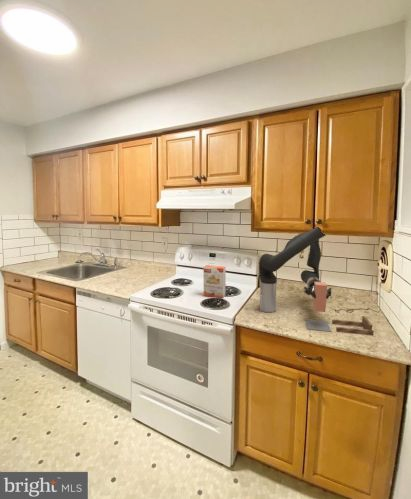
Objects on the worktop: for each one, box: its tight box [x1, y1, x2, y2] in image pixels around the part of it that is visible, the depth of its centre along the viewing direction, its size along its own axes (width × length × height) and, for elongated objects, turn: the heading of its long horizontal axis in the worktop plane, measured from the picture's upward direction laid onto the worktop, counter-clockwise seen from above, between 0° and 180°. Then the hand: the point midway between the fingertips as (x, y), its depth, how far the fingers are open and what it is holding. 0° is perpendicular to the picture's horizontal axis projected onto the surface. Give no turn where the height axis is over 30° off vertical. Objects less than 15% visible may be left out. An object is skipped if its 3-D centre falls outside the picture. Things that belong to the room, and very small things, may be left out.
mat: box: [304, 318, 333, 333], centre depth 132 cm, size 11×11×1 cm
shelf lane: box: [331, 316, 375, 336], centre depth 128 cm, size 16×9×5 cm, turn 77°
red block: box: [312, 281, 328, 313], centre depth 129 cm, size 5×5×14 cm
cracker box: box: [203, 264, 227, 299], centre depth 172 cm, size 14×6×21 cm, turn 69°
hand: (321, 296), depth 126 cm, fingers closed on red block, 5 cm apart
